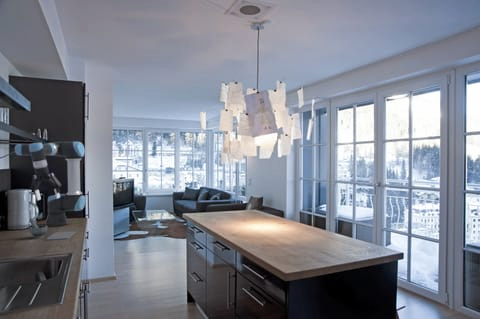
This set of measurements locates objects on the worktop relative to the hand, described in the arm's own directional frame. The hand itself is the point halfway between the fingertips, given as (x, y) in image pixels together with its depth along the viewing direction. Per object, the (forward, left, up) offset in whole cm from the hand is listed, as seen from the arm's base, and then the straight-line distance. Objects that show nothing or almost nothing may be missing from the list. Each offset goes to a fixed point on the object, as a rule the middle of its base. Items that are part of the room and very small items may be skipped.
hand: (48, 198), depth 214 cm
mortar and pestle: (-4, -7, -26) cm, 27 cm away
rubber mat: (-4, +7, -25) cm, 26 cm away
